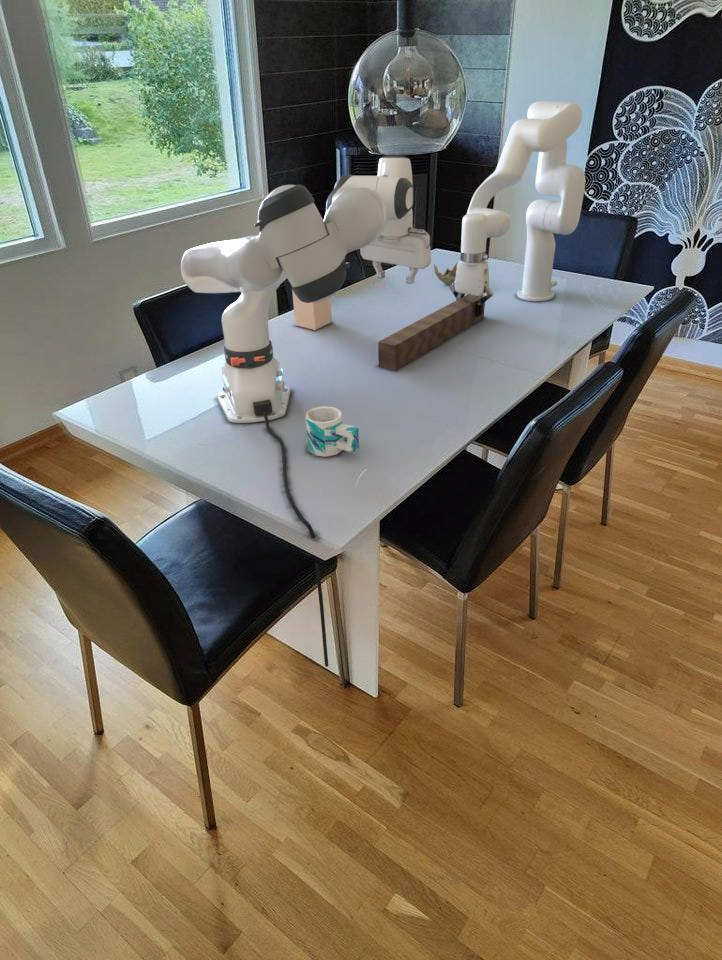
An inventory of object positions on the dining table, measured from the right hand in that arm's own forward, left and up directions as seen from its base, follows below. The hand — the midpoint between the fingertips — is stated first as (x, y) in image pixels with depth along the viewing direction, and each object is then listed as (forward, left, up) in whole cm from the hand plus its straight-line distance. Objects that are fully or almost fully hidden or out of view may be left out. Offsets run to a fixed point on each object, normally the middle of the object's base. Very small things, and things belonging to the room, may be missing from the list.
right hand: (469, 313), depth 215 cm
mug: (+83, +35, -2) cm, 90 cm away
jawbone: (-24, -30, -2) cm, 39 cm away
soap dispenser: (+37, -32, -2) cm, 49 cm away
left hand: (+40, +9, +21) cm, 46 cm away
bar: (+20, +4, -2) cm, 21 cm away
